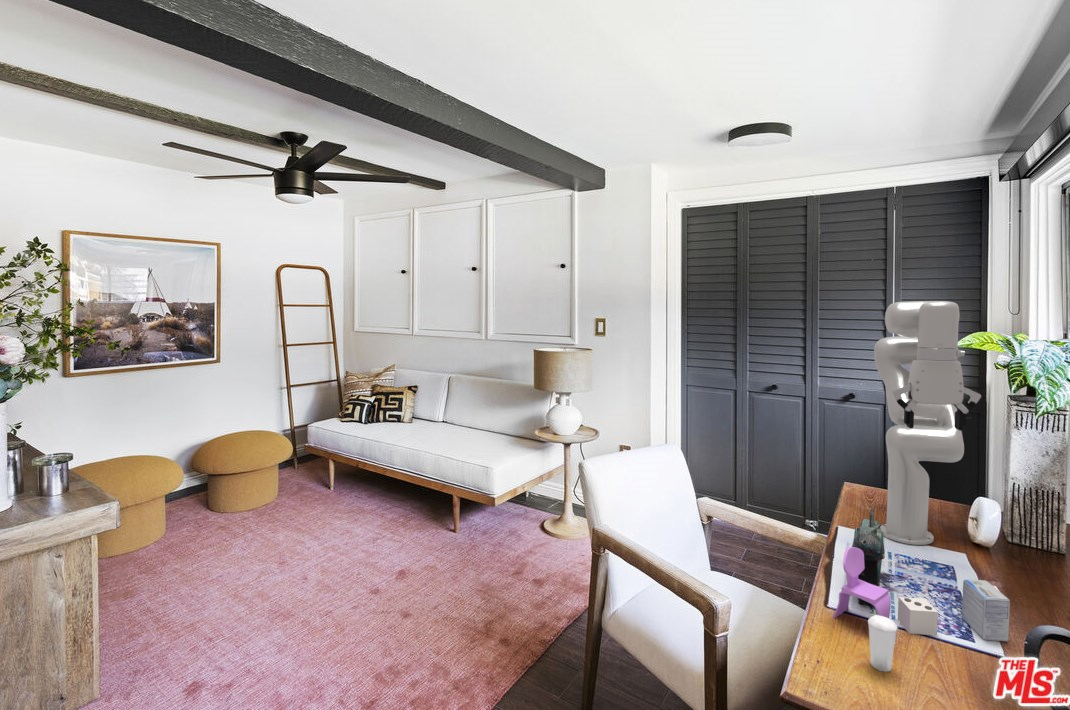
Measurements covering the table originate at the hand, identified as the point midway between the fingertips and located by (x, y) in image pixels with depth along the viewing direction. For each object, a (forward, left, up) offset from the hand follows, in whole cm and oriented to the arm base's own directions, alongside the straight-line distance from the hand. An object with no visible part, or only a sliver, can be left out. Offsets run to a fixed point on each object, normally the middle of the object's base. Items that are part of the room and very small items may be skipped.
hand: (933, 428), depth 130 cm
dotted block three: (+25, -6, -36) cm, 45 cm away
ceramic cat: (+12, -14, -37) cm, 41 cm away
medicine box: (+21, +6, -37) cm, 43 cm away
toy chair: (+27, -16, -37) cm, 48 cm away
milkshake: (+42, -14, -37) cm, 57 cm away
